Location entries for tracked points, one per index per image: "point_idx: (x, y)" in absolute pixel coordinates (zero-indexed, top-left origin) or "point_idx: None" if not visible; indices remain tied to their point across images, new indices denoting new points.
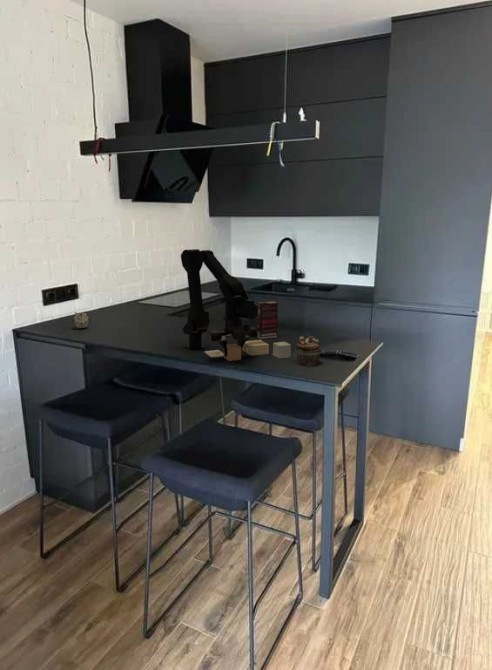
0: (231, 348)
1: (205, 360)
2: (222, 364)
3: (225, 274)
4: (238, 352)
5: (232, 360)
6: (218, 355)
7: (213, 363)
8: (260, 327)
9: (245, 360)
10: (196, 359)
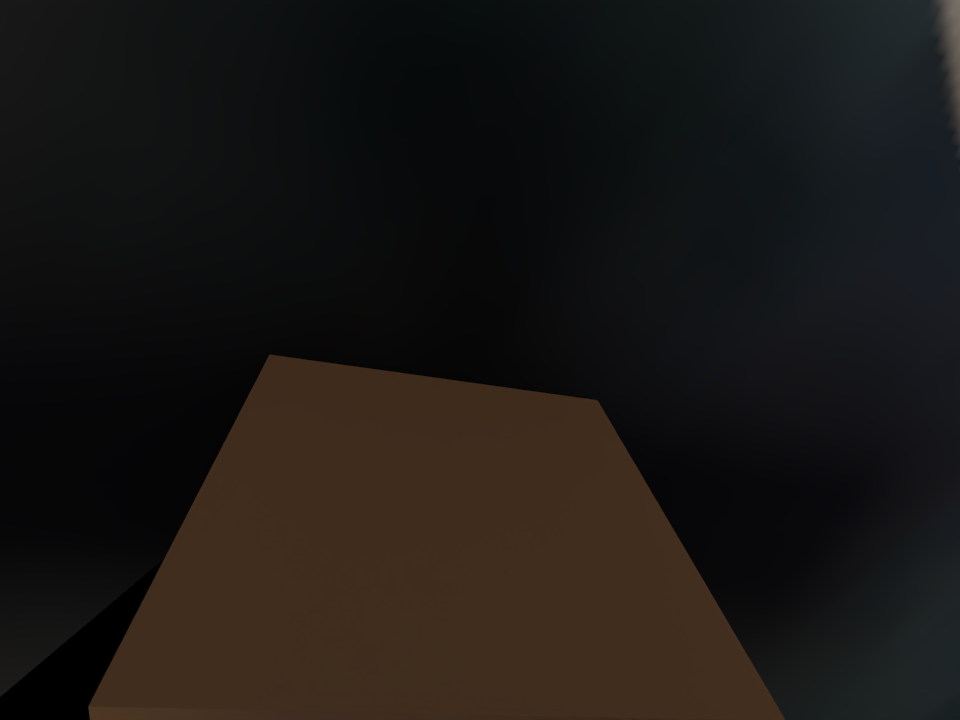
0: (648, 690)
1: (871, 606)
2: (883, 264)
3: None
4: (315, 501)
5: (506, 391)
6: None
7: (936, 418)
8: None
9: (183, 232)
10: (912, 684)
